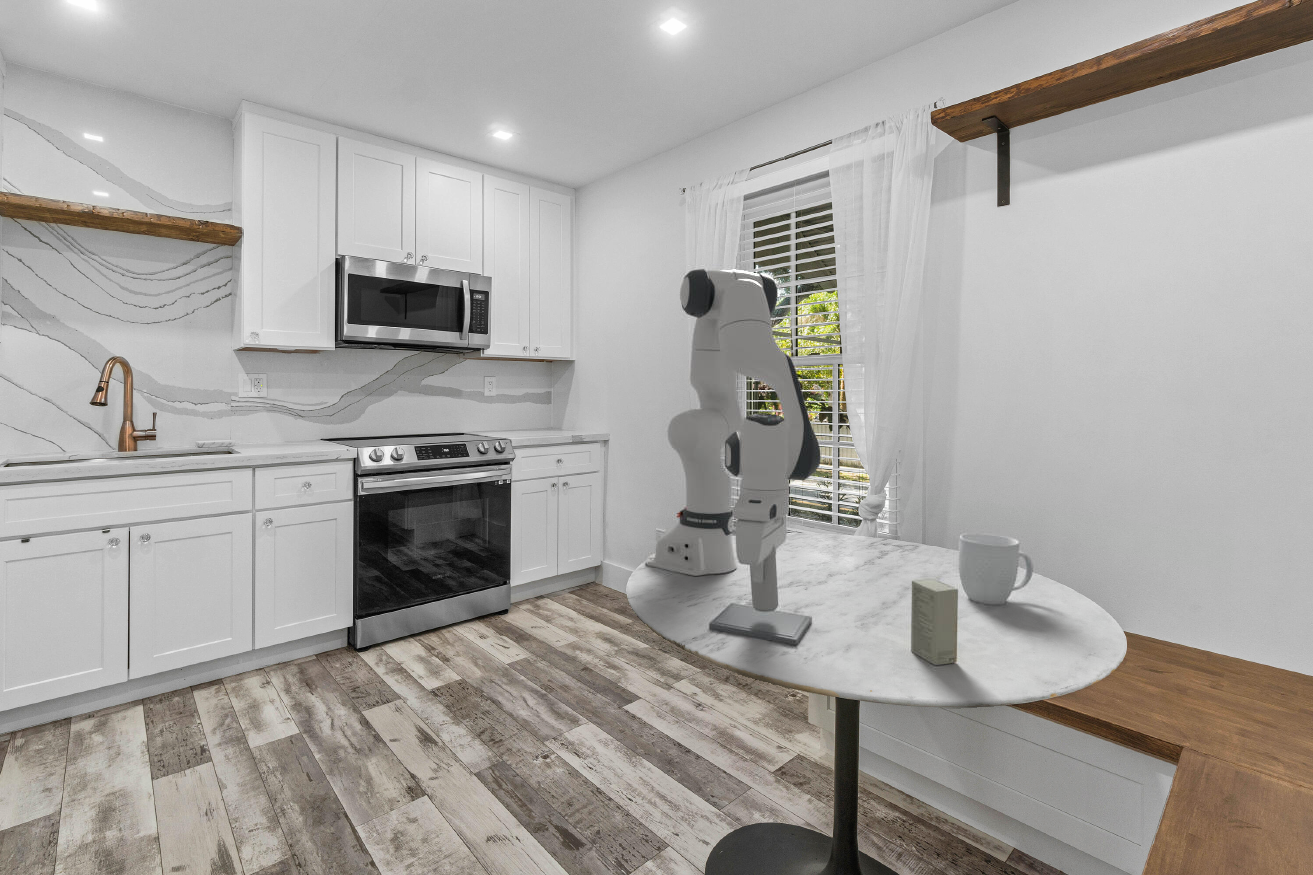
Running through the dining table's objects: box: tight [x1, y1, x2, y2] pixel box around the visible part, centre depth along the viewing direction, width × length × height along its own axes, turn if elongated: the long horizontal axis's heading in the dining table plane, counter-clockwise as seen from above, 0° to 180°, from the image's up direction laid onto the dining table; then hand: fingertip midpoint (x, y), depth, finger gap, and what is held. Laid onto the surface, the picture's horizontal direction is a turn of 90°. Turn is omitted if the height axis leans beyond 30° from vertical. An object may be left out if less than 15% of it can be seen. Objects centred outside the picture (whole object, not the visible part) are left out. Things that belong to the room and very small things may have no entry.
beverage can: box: [749, 545, 779, 612], centre depth 112 cm, size 5×5×12 cm
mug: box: [958, 532, 1034, 606], centre depth 128 cm, size 15×11×13 cm
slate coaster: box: [708, 602, 813, 646], centre depth 113 cm, size 16×12×1 cm
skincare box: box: [910, 578, 959, 666], centre depth 100 cm, size 6×4×12 cm
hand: (763, 576), depth 112 cm, fingers closed on beverage can, 5 cm apart
